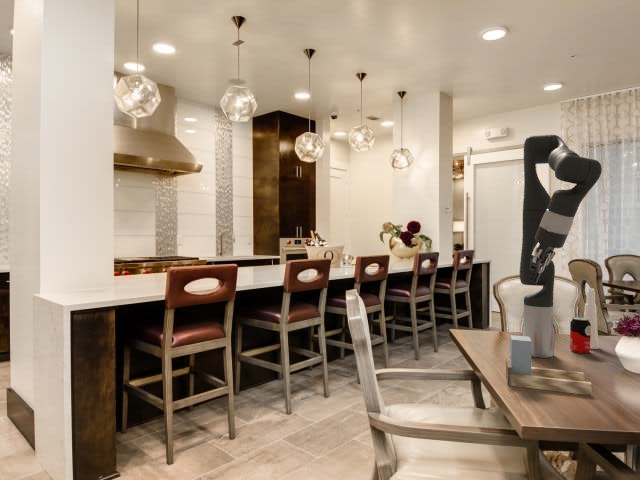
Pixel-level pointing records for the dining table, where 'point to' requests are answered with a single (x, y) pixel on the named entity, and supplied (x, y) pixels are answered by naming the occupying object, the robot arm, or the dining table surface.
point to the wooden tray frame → (549, 380)
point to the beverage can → (580, 335)
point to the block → (520, 354)
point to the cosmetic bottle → (592, 318)
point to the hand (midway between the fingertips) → (532, 282)
